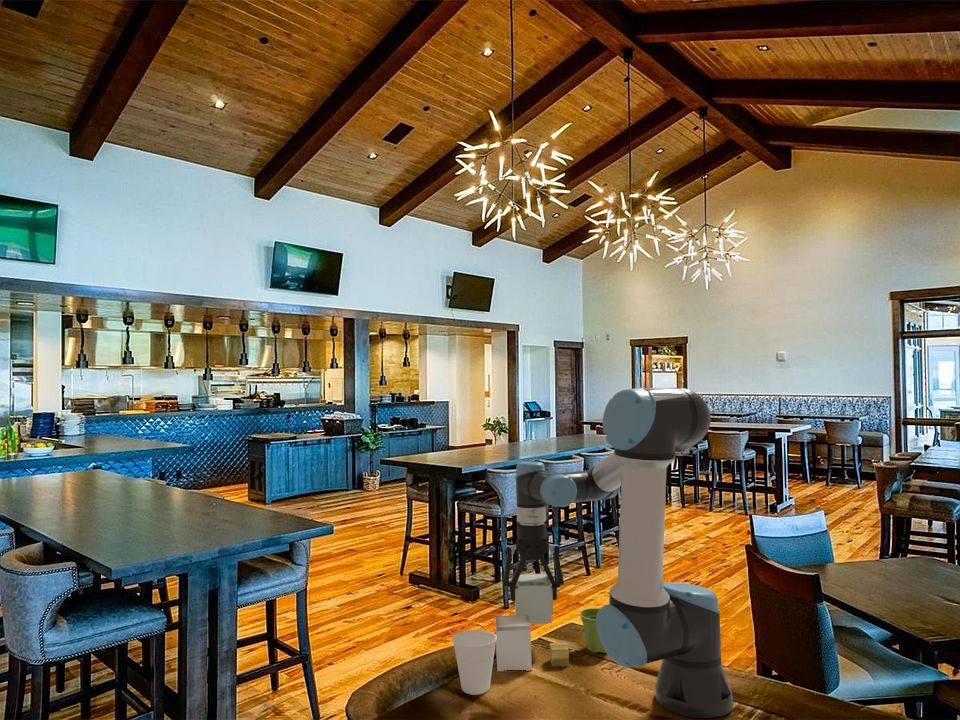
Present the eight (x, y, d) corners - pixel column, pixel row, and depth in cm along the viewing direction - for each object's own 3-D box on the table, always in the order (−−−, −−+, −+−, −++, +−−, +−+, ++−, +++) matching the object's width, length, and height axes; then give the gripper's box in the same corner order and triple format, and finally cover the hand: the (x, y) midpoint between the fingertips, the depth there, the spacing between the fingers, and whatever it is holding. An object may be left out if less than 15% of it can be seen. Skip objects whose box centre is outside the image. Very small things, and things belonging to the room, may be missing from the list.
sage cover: (548, 612, 164) (547, 573, 165) (551, 623, 156) (550, 582, 157) (517, 613, 164) (516, 574, 165) (519, 624, 156) (518, 582, 157)
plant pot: (596, 639, 165) (595, 605, 166) (626, 649, 158) (624, 613, 159) (572, 648, 159) (571, 613, 160) (601, 659, 152) (600, 622, 153)
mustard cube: (569, 666, 149) (568, 649, 149) (552, 667, 149) (551, 649, 149) (566, 659, 153) (566, 642, 153) (550, 660, 153) (549, 643, 153)
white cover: (531, 670, 147) (530, 626, 147) (497, 671, 147) (496, 627, 147) (529, 656, 155) (527, 615, 155) (496, 657, 155) (495, 615, 155)
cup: (499, 679, 142) (498, 629, 143) (496, 700, 132) (495, 646, 133) (456, 679, 143) (455, 629, 144) (449, 699, 133) (448, 645, 134)
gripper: (491, 526, 158) (493, 619, 157) (574, 524, 158) (577, 617, 157) (490, 520, 166) (492, 609, 164) (570, 519, 166) (572, 607, 164)
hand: (534, 613), depth 161 cm, fingers closed on sage cover, 8 cm apart
